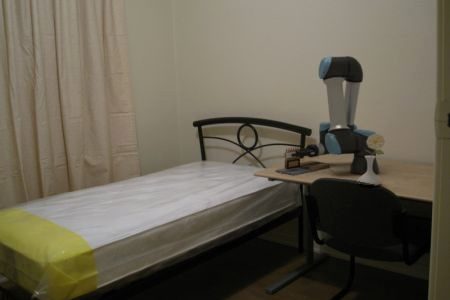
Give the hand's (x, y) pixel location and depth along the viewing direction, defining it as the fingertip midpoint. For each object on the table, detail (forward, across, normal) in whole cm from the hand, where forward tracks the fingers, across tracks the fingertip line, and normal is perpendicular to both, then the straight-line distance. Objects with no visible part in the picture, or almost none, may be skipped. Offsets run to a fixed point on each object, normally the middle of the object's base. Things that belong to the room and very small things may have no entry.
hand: (285, 155), depth 234 cm
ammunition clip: (-5, 0, -8) cm, 10 cm away
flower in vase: (-10, -48, -10) cm, 50 cm away
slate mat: (-5, 0, -10) cm, 11 cm away
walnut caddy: (-20, 0, -10) cm, 23 cm away
